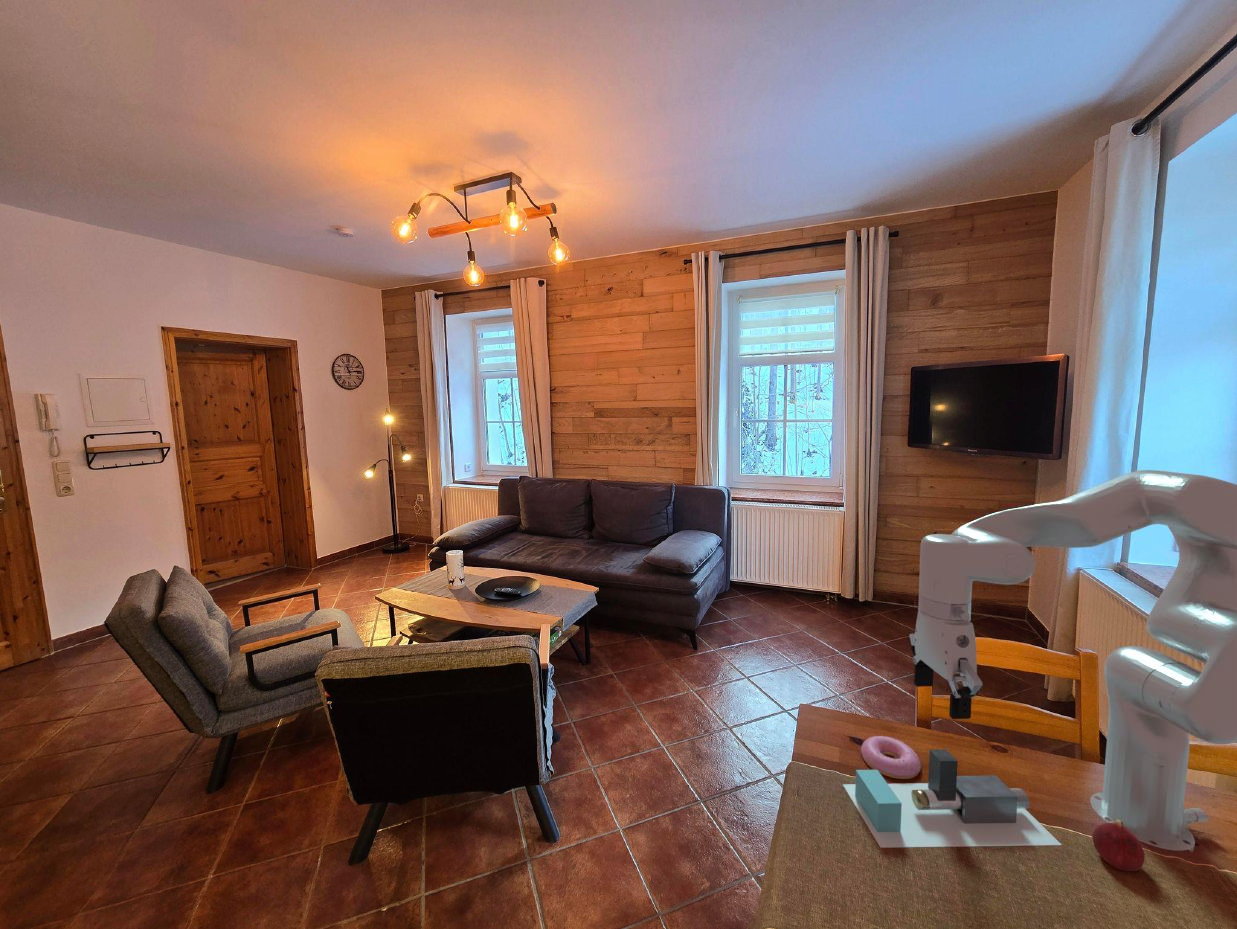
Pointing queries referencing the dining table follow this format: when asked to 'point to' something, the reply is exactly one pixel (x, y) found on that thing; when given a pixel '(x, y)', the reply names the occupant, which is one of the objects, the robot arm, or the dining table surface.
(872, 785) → the socket
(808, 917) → the dining table surface
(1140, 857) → the onion
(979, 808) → the sleeve
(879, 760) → the doughnut
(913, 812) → the base board
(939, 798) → the silver bolt with handle
